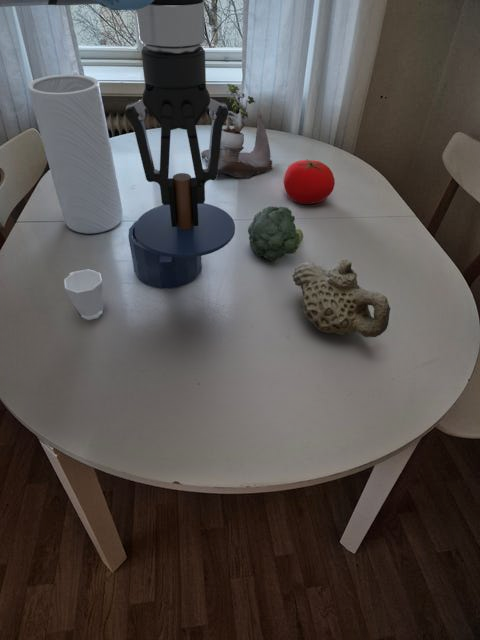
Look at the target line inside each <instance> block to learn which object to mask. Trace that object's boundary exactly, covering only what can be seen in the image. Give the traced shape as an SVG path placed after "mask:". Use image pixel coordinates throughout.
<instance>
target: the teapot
mask: <svg viewBox="0 0 480 640" xmlns="http://www.w3.org/2000/svg"><path fill="white" fill-rule="evenodd" d="M352 264H353V263H352V261H349V260H348V259H345V258H344V259H340V261H339V265H336V266H334V267H330V268H329V270H327V269H324V268H323V267H322V266H320V265H317V264H315V263H314V262H312V261H306V262H302V263H300V264H299V265H298V266H297V267H295V268H294V272H293V274H292V279H293V280H292V281H293V283H294V285H295V286H297V287H300V288H301V308H302V309H303V313H304V315H305V317H306V318H307V320H309V321H310V322H311V323H312V324H313V326H315V327H316V329H318V330H319V331H320V332H323V333H328V334H329V333H330V334H337V335H342V336H343V335H346V334H349V333H354V332H357V333H359V334H360V335H361V336H362V337H365V338H377V337H378V336H381V335H382V334H383V333H385V331H386V330H387V329H388V326H389V323H390V313H391V307H390V304H389V301H388V298H387V296H386V295H384V294H383V293H382V292H380V291H372V290H367V289H366V288H365V289H364V288H362V287H361V286H360V285H359V284H358V280H357V277H358V274H357V272H356V271H355V270H354V269H353V268H352ZM369 306H371V307H372V308H373V316H372V314H371V312H370V309H369Z"/></svg>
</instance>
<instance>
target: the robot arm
mask: <svg viewBox="0 0 480 640" xmlns="http://www.w3.org/2000/svg"><path fill="white" fill-rule="evenodd" d="M81 5H83V6H85V5H99V6H101V7H103V8H107V9H109V10H110V11H125V12H126V11H127V12H128V11H130V12H131V11H136V19H137V24H138V25H137V27H138V35H139V41H140V42H141V43H142V44H143V45H144V46H143V47H142V49H141V51H140V53H141V61H142V62H141V63H142V70H143V78H144V80H143V81H144V90H143V92H142V98H141V99H139V100H137V101H136V102H134V103H133V102H128V103H126V107H125V112H124V114H125V117H126V119H127V120H128V122H129V123H130V125H131V126H132V128H133V132H134V135H135V140H136V144H137V147H138V151H139V155H140V156H139V157H140V159H141V163H142V169H143V172H144V176H145V180H146V181H147V182H149V183H157V184H158V186H159V190H160V198H161V203H162V205H170V213H171V223H172V227H177V221H176V209H175V197H174V185H173V177H172V178H171V177H170V178H169V174H170V172H169V170H170V150H171V133H172V131H174V130H177V129H180V130H185V131H186V135H187V139H188V145H189V150H190V155H191V160H192V166H193V171H194V176H195V177H191V189H192V208H193V225H194V226H198V204H202V203H205V202H206V188H205V187H206V183H207V182H209V181H215V180H217V178H218V175H217V173H218V163H219V153H220V144H221V134H222V129H223V127H224V124H225V123H226V121H227V116H228V111H229V109H228V105H227V103H226V102H225V101H220V102H219V101H217V100H215V99H213V98H211V96H210V95H211V94H210V92H209V90H208V87H207V78H206V77H207V73H206V51H205V50H204V48H203V47H202V45H203V44H204V42H205V40H206V37H205V36H206V34H205V30H206V29H205V0H0V8H9V7H11V8H12V7H31V6H32V7H33V6H81ZM146 109H147V111H148V112H149V113H150V115H151V116H152V117H153V118H154V119H155V121H156V122H157V123H158V125H160V126H161V128H160V151H159V152H160V154H159V157H160V158H159V170H158V169H156V168H155V164H154V160H153V155H152V151H151V146H150V142H149V137H148V133H147V129H146V128H147V127H146V125H145V121H144V120H146ZM207 109H209V112H208V113H209V118H210V119H211V125H210V136H209V147H208V149H209V157H208V162H207V167H205V168H203V160H202V157H201V156H202V155H201V149H200V144H199V138H198V132H197V127H196V125H197V124H198V123H199V121H200V119H201V118H202V117H203V115H204V113H205V112H206V110H207Z"/></svg>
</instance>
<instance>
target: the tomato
mask: <svg viewBox="0 0 480 640" xmlns="http://www.w3.org/2000/svg"><path fill="white" fill-rule="evenodd" d="M335 185H336V181H335V176H334V173H333V171H332V170H331V168H330V167H329V166H328V165H327V164H325V163H323V162H321V161H319V160H315V159H314V160H313V159H301V160H297V161H294V162H292V163H290V165H289V166H288V167H287V169H286V171H285V173H284V176H283V188H284V191H285V194H286V195H287V197H289V198H290V200H292V201H293V202H295V203H298V204H303V205H310V204H317V203H320V202H322V201H323V200H325V199H327V198H328V197H329V196H330V195H331V194H332V192H333V191H334V188H335Z"/></svg>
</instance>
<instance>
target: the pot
mask: <svg viewBox="0 0 480 640" xmlns="http://www.w3.org/2000/svg"><path fill="white" fill-rule="evenodd" d="M136 222H137V220H136V221H134V222H133V223H132V224H131V226H130V227H129V228H128V242H129V243H128V244H129V249H130V254H131V259H132V266H133V271H134V274H135V276H136V278H137V279H138V280H139V281H140V282H141V283H142V284H144V285H146V286H148V287H152V288H156V289H163V290H164V289H165V290H166V289H176V288H180V287H183V286H186V285H189V284H191V283H192V282H193V281H194V280H196V279H197V278H198V277H199V275H200V274H201V272H202V267H203V266H202V256H198V257H189V258H176V257H168V256H163V255H159V254H156V253H153V252H151V251H149V250H147V249H146V248H144V247H143V246H142V245H141V244H140V243H139V242H138V241H137V239H136V236H135V224H136Z"/></svg>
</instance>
